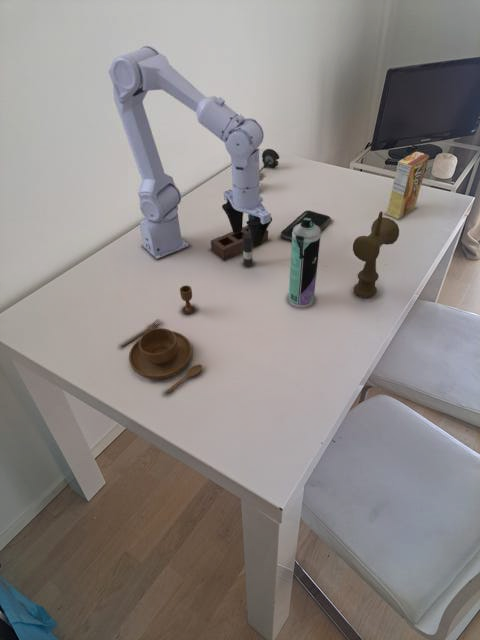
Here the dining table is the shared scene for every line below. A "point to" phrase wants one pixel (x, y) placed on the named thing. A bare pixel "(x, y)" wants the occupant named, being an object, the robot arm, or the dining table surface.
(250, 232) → the teal marker
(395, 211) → the candy box
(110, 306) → the dining table surface
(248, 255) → the black marker
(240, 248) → the marker stand
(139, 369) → the place setting
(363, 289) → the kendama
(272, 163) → the artificial flower
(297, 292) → the spray can
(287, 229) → the phone
